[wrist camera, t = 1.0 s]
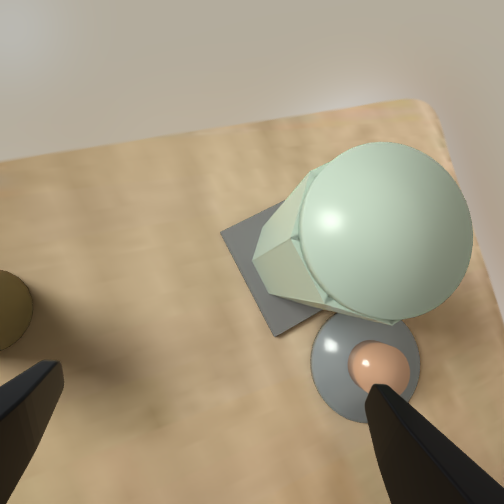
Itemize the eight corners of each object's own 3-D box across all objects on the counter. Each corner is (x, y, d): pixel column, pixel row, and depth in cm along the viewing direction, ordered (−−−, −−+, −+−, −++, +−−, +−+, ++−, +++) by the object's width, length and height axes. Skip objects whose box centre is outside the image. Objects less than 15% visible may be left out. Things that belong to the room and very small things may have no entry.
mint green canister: (353, 275, 25) (504, 267, 12) (280, 316, 24) (359, 356, 11) (314, 201, 25) (419, 113, 12) (239, 238, 24) (269, 185, 11)
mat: (368, 281, 25) (371, 281, 25) (273, 335, 24) (274, 337, 23) (317, 185, 26) (319, 183, 25) (220, 233, 24) (220, 232, 24)
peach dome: (398, 372, 24) (419, 382, 22) (359, 397, 24) (376, 410, 21) (375, 330, 24) (393, 335, 22) (336, 353, 24) (350, 361, 21)
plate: (433, 382, 25) (439, 384, 24) (344, 441, 24) (347, 446, 23) (382, 286, 25) (386, 286, 25) (290, 339, 24) (292, 340, 23)
